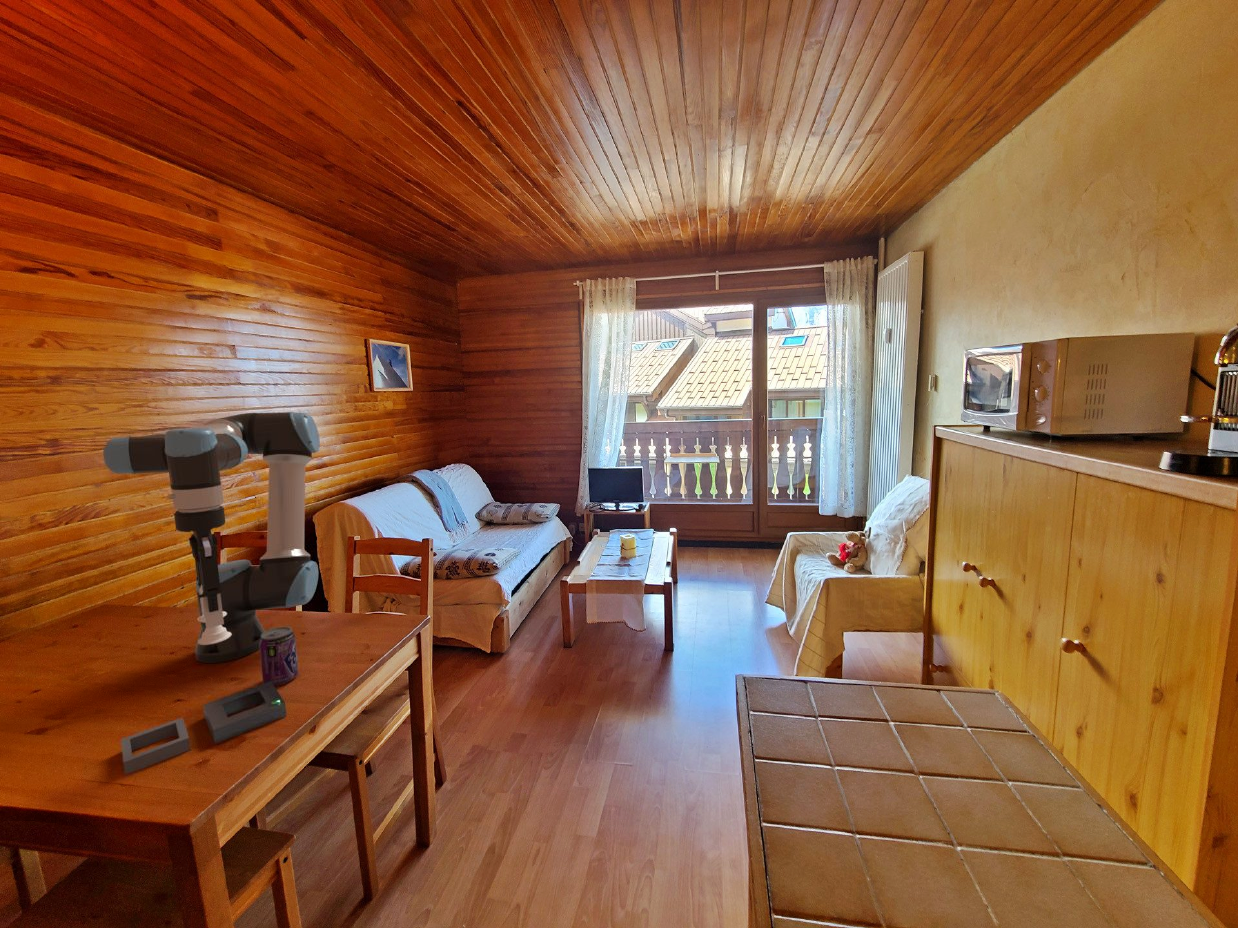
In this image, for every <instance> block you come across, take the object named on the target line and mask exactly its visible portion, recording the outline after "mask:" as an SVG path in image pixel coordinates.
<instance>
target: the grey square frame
mask: <svg viewBox="0 0 1238 928" xmlns="http://www.w3.org/2000/svg"><path fill="white" fill-rule="evenodd" d="M176 735H177V738H176V739H173V740H171V741H167V742H165V743H163V744H160V745H158V746H154V747H152V748H149V749H147V750H144V751H142V752H141V751H140V752H139V753H136V754H133V751H135V750H139V749H141V748H144V747H146V746H149V745H152V744H155V743H157V742H159V741H162V740H166V739H168V738H170V737H174V736H176ZM120 743H121V745H120V746H121V754H122V763H123V769H124V774H125V775H124V776H127V775H129V774H132V773H134V772H137V771H140V770H142V769H145V768H148V767H150V766H153V765H155V764H158V763H161V762H163V761H165V760H167V759H170V758H173V757H176V756H178V755H180V754H183V753H187V752H188V751H190V750H191V743H190V736H189V734H188V730H187V727H186V724H185V721H184V718H183V717H180V718H177V719H173V720H171V721H168V722H165V723H163V724H160V725H158V726H154V727H151V728H149V729H146V730H143V731H139V732H137V733H134V734H132V735H129V736H127V737H123V738H120Z"/></svg>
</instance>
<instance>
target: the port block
mask: <svg viewBox="0 0 1238 928" xmlns="http://www.w3.org/2000/svg"><path fill="white" fill-rule="evenodd" d="M202 706H203V714H204V719H205V722H206V725H207V728H208V729H209V732H210V735H211V737H212V740H213V743H214V744H215V745H216V744H219V743H222V742H225V741H226V740H227V741H228V740H229V739H233V738H234V737H236V736H240V735H241V734H244V733H247V732H249V731H252V730H254V729H256V728H259V727H262V726H264V725H268V724H270V723H273V722H274V721H277V720H280V719H282V718H284V717H287V706H286V702H285V700H284V699H283V697H282V696H281V694H280V693H279V691H278V690H277V689H276V687H275V685H273V684H272V682H271V681H269V682H267V683H261V684H258V685H255V686H252V687H250V688H247V689H243V690H241V691H239V692H236V693H231V694H229V695H225V696H224V697H221V698H218V699H214V700H212V701H209V702H206V703H203V704H202ZM254 706H255V707H254ZM252 707H253V708H252ZM249 708H250V709H249ZM247 709H248V710H247ZM238 712H239V713H238ZM236 713H237V714H236ZM230 715H231V716H230ZM228 716H229V717H228Z"/></svg>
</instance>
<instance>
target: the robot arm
mask: <svg viewBox="0 0 1238 928" xmlns="http://www.w3.org/2000/svg"><path fill="white" fill-rule="evenodd" d="M320 440H321V439H320V435H319V430H318V427H317V424H316V422H315V419H314V418H313V416H311V415H310V414H309V413H307V412H293V411H289V412H288V411H287V412H286V411H285V412H284V411H283V412H246V413H240V414H235V415H230V416H224V417H221V418H216V419H215V418H214V419H211V420H209V421H207V422H205V423H204V424H203V425H198V426H193V427H187V428H175V429H169V430H167V431H166V432H160V433H156V434H155V433H154V434H150V435H143V436H142V435H141V436H131V435H127V436H122V437H119V436H118V437H113V438H110V439H109V440H108V441H107V442H106V443H105V445H104V447H103V451H102V452H103V453H102V454H103V455H102V456H103V461H104V464H105V466H106V468H107V469H109V470H110V471H111V472H112V473H115V474H118V475H119V474H120V475H123V474H124V475H125V474H128V475H136V474H157V473H160V474H161V473H168V477H169V481H170V482H169V483H170V489H171V493H169V494H167V499H169V500H172V506H173V509H174V510H177V511H175V512H174V513H173V516H174V517H173V518H174V526H175V529H176V531H178V532H180V533H191V532H192V534H190V535H191V536H190V537H189V538H188V541H189V542H188V543H189V546H190V547H191V548H190V549H191V554H192V558H194V563H195V572H196V573H195V574H196V578H195V588H196V589H195V593H196V597H197V604H198V606H197V607H198V612H199V613H198V614H199V617H200V616H202V615H205V623H204V622H200V632H199V635H198V639H197V641H196V646H195V648H194V649H195V651H194V654H195V660H196V661H198V662H200V663H204V664H217V663H224V662H229V661H235V660H236V659H237V660H238V659H240V658H243V657H246V656H248V655H251V654H253V653H255V652H256V651H260V648H259V642H260V640H261V634H262V633H264V632H265V631H266V630H265V629H264V627H263V626H262V624H261V621H260V620H259V618H258V616H257V611H261V610H270V609H271V610H272V609H280V608H283V609H284V608H289V609H290V608H291V607H299V606H303V605H306V604H308V603H309V602H310V601H311V600H312V599H313V597H314V596H315V595H314V594H315V592H316V589H317V585H318V581H319V567H318V564H317V562H316V561H313V560H311V554H310V553H309V552H307V550H305V517H306V516H305V515H306V513H305V510H306V509H305V508H306V466H307V465H308V464H309V463H310V462H312V460H313V459H312V458H313V454H316V453H318V452H319V451H320V446H321V445H320V444H321V442H320ZM248 455H262V460H263V461H264V462H266V463H267V464H268V470H269V471H268V492H267V493H268V495H267V496H268V497H267V499H268V500H267V502H268V503H267V534H266V535H267V536H266V552H265V553H264V554H263V555H262V556H261V557H260V558H259V565H253V566H252V563H251V560H248V559H238V560H232V561H228V562H224V563H220V564H218V557H219V555H218V547H217V545H218V537H217V536H216V534H215V533H212V530H213V529H217V528H220V527H222V526H224V525H225V524H226V516H225V508H224V507H223V506H222V505H223V503H224V502H225V501H224V494H223V488H222V487H223V485H222V481H221V472H222V471H226V470H231V469H235V467H238V466H239V465H241V464H243V462H244V461H245V460H246V459H247V457H248ZM201 585H202V589H203V593H202V594H201ZM202 599H203V606H202ZM203 607H204V614H203ZM222 611H224V612H227V615H226V616H224V617H223V612H222ZM218 625H222V627H225V628H226V630H227V632H230V633H231V634H232V635H231V636H230V637H229V638H228V639H226V640H224V641H221V642H218V643H215V644H209V645H201V644H199V643H198V640H199V639H200V638H201V637H202V633H203V632H204V631H205V629H206V628H211V627H215V626H218Z"/></svg>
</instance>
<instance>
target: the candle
mask: <svg viewBox="0 0 1238 928" xmlns="http://www.w3.org/2000/svg"><path fill="white" fill-rule="evenodd" d="M202 593H203V589H202V585H201V594H202ZM202 606H203V599H202ZM222 612H223V617H224V616H226V615H227V612H224V611H222ZM203 614H204V607H203ZM196 621H197V622H199V623H201V622H204V623H205V615H202V616H200V615H199V616H198V617H197V619H196ZM231 635H232V634H231V633H230V632H227V630H226V628H225V627H222V625H218V626H215V627H211V628H206V629H205V631H204V632H203V633H202V637H201V638H200V639H199V640H198V639H197V641H198V643H199V644H201V645H209V644H215V643H218V642H221V641H224V640H226V639H228V638H229V637H230V636H231Z"/></svg>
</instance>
